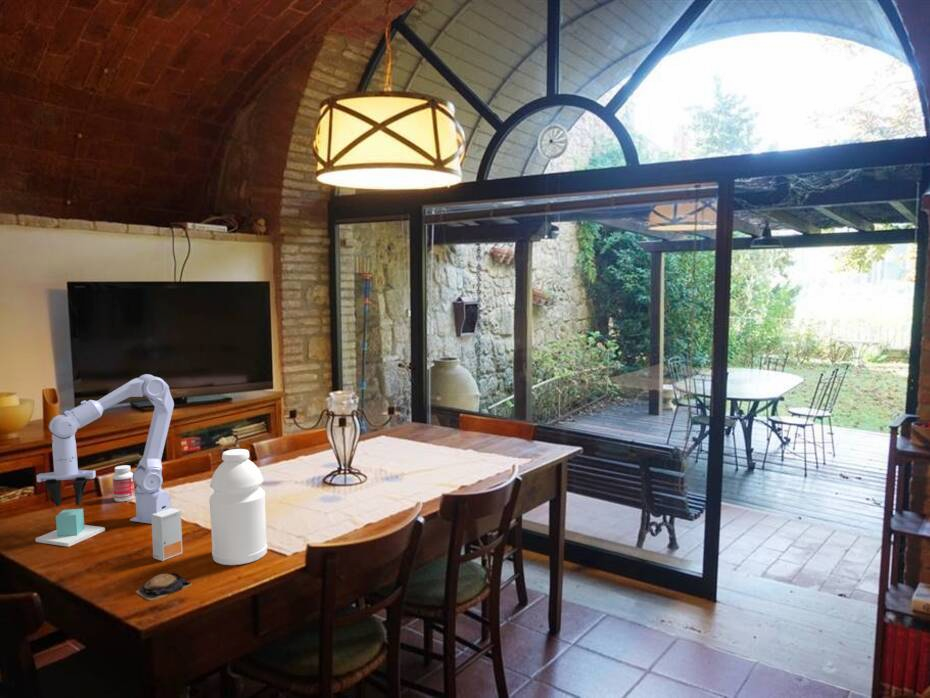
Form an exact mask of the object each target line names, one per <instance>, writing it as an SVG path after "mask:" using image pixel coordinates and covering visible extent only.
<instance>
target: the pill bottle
mask: <svg viewBox="0 0 930 698" xmlns="http://www.w3.org/2000/svg"><path fill="white" fill-rule="evenodd" d="M114 473H115V474H113V475H112V486H113V487H112V488H113V499H114V501H115V502H119V503H123V502H129V501H131V500H133V499H135V482H134V481H133V473H134V472H132V471H131V465H128V464H127V465H126V464H125V465H123V464H122V465H117V466H115V467H114Z"/></svg>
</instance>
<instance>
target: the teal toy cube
mask: <svg viewBox="0 0 930 698" xmlns="http://www.w3.org/2000/svg"><path fill="white" fill-rule="evenodd" d="M84 516H85V515H84V508H71V509H69V508H68V509H63V510H62V511H60V512H59V513H57V514H56V515H55V525H56V530H57V537H61V536H75V535H78V534H79V533H80V532H81V531H82V530H84V529H85V528H84V525H85V517H84Z"/></svg>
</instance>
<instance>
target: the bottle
mask: <svg viewBox="0 0 930 698" xmlns="http://www.w3.org/2000/svg"><path fill="white" fill-rule="evenodd" d="M249 458H250V451H249V450H248V449H245V448H233V449H228V450H224V451H223V452H222V456H221V460H222V463H220V464H219V465H218V467H217V468H216V469H215V471H214V472H213V474H212V477H211V480H210V483H209V487H210V488H211V489H212V490H213V493H211V495H210V496H209V503H208V504H209V512H210V513H209V514H210V531H211V534H210V535H211V546H212V547H211V549H212V550H211V554H212V559H213V561H214V562H216V563H217V564H220V565H224V566H237V565H238V566H239V565H245V564H250V563H252V562H255V561H259V560H260V559H261V558H263V557H264V556H266V554H267V553H268V541H267V540H268V538H267V536H268V535H267V514H266V491H265V490H264V489H263V488H262V487H261V485H262V484H263V483H264V476H263V474H262V472H261V470H260V469H259V467H258V466H257V464H255V462H253V460H252V461H251V460H250V459H249Z"/></svg>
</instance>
